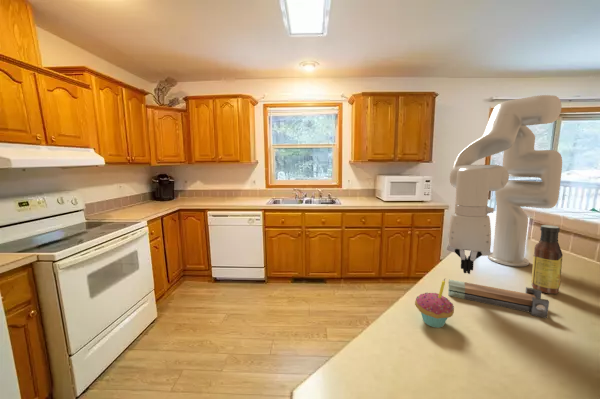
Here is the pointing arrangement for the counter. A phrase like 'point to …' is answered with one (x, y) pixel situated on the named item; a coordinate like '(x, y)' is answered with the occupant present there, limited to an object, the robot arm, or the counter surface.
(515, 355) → the counter surface
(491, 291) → the bar
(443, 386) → the counter surface
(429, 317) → the cupcake
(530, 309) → the base
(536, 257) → the sauce bottle
